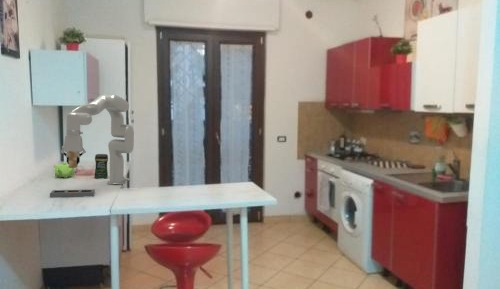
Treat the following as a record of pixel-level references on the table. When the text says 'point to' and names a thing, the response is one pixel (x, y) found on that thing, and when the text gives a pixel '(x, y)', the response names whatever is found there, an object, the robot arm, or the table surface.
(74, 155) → the oak peg
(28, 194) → the table surface
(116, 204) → the table surface
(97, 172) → the coffee jar
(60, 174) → the green lumpy round mass
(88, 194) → the dark grey divided tray
